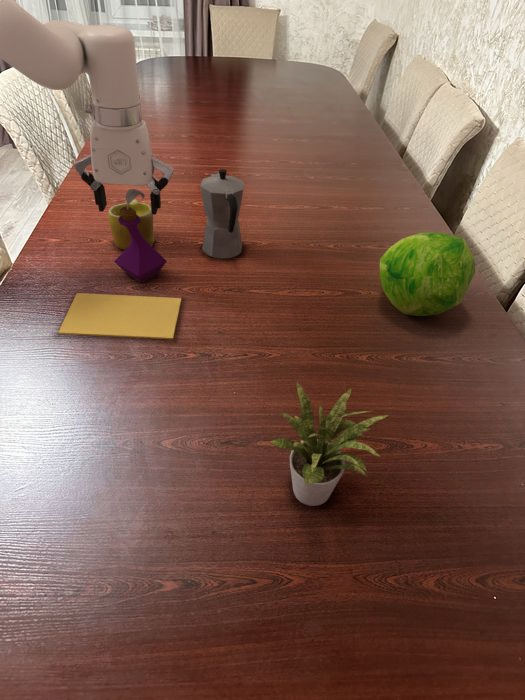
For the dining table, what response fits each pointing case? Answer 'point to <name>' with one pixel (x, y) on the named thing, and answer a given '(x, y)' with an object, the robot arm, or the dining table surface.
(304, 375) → the dining table surface
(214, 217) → the coffeepot
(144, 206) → the mug
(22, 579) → the dining table surface
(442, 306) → the lettuce
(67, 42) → the robot arm
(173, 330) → the yellow rectangular board
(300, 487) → the house plant
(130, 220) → the purple potion bottle
